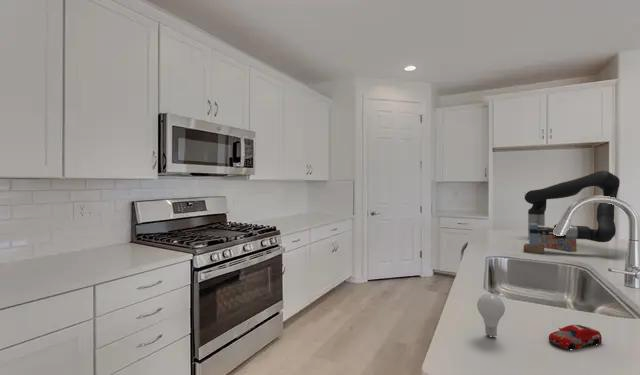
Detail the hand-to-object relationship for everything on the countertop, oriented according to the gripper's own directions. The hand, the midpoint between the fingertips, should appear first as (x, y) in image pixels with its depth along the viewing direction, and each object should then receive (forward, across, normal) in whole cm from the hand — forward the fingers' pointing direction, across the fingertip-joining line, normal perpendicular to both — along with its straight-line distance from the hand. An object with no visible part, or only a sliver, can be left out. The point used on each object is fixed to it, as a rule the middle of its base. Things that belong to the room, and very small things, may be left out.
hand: (529, 230), depth 182 cm
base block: (-2, 0, +12) cm, 13 cm away
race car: (+1, +116, +12) cm, 116 cm away
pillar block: (-2, 0, +8) cm, 9 cm away
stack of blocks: (-13, -17, +12) cm, 25 cm away
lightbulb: (+20, +121, +12) cm, 123 cm away
